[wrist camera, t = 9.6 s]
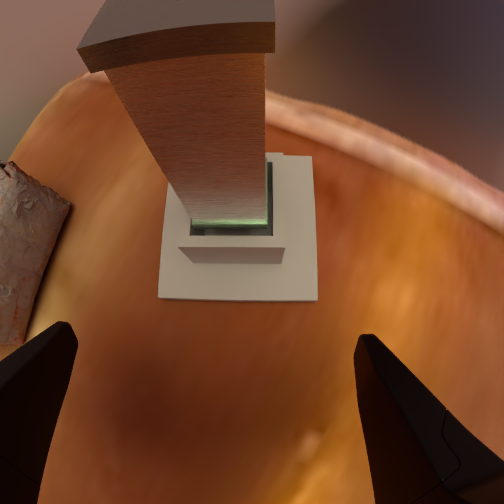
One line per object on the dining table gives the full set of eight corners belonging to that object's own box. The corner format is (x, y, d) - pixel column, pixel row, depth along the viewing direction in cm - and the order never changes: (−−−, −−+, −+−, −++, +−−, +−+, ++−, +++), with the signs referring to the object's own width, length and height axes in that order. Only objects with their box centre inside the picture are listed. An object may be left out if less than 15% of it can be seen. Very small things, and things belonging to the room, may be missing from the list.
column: (269, 232, 17) (275, 21, 4) (194, 232, 17) (76, 49, 5) (269, 166, 17) (270, -48, 5) (199, 167, 18) (128, -31, 6)
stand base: (315, 301, 20) (334, 290, 15) (162, 299, 21) (128, 286, 15) (309, 163, 23) (321, 115, 17) (175, 164, 23) (152, 119, 18)
